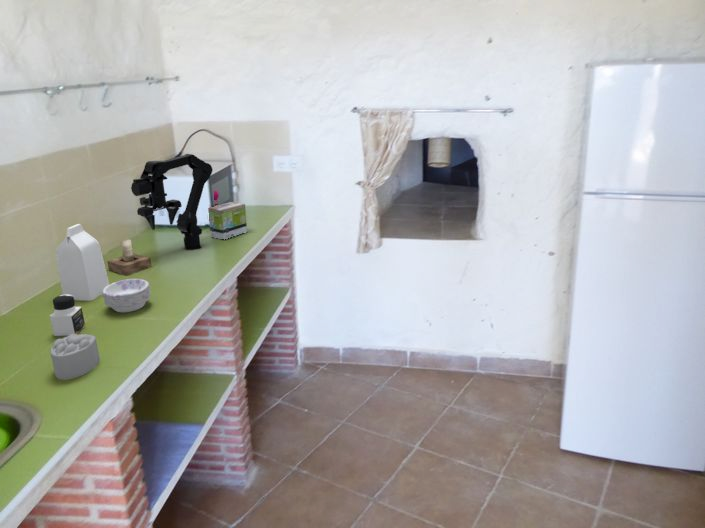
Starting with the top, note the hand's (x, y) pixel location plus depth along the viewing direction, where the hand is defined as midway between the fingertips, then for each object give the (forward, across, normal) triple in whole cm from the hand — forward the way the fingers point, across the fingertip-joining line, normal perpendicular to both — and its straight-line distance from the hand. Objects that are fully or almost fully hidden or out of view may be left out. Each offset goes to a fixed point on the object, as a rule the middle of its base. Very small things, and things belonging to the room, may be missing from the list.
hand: (162, 227), depth 258 cm
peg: (+13, +19, 0) cm, 23 cm away
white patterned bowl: (+13, +43, +36) cm, 58 cm away
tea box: (+13, -36, +1) cm, 38 cm away
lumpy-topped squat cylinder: (+13, +78, +60) cm, 99 cm away
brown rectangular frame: (+13, +19, 0) cm, 23 cm away
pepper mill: (+13, -44, -18) cm, 50 cm away
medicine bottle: (+13, +66, +36) cm, 76 cm away
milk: (+13, +44, +11) cm, 47 cm away
